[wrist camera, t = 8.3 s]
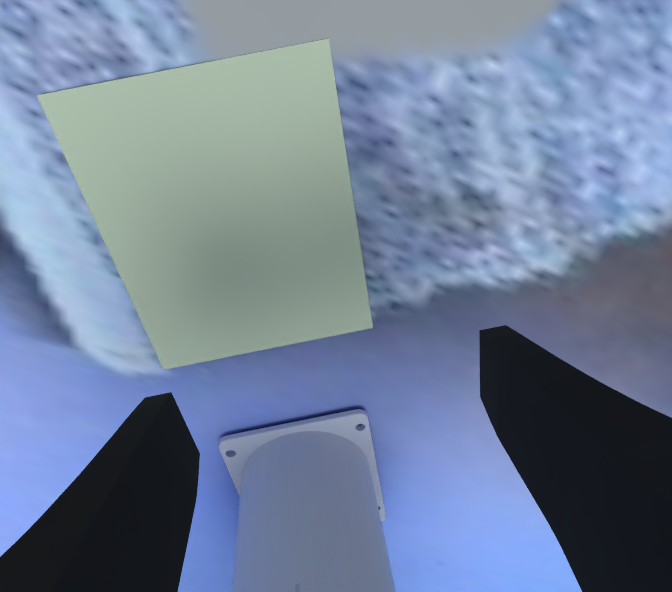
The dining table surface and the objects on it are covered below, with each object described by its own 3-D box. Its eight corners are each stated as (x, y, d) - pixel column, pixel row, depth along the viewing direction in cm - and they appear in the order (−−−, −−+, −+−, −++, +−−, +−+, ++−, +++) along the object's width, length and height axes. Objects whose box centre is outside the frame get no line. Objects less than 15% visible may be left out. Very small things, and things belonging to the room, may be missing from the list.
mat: (371, 323, 22) (373, 327, 21) (165, 364, 22) (163, 369, 21) (327, 38, 16) (328, 38, 15) (42, 94, 16) (36, 95, 15)
